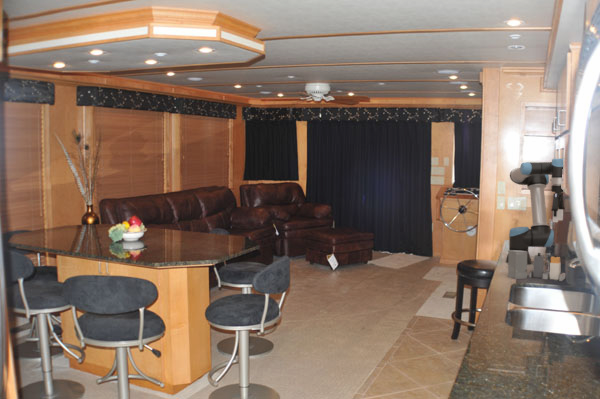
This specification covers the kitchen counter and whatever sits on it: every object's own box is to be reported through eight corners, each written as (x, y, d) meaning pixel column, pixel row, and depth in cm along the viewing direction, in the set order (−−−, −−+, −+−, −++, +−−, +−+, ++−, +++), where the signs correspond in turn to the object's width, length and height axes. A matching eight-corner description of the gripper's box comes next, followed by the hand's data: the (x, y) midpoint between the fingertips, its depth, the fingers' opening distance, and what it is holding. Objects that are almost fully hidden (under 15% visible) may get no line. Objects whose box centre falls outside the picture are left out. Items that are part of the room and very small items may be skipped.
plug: (560, 278, 296) (560, 254, 295) (558, 279, 292) (559, 255, 291) (551, 277, 299) (552, 253, 298) (549, 278, 295) (550, 254, 294)
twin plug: (535, 275, 304) (535, 252, 303) (544, 276, 301) (544, 252, 300) (533, 277, 300) (533, 253, 299) (542, 278, 297) (542, 253, 297)
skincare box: (515, 280, 295) (515, 251, 294) (506, 277, 302) (507, 249, 301) (528, 279, 297) (528, 251, 297) (519, 276, 304) (520, 249, 303)
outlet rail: (532, 275, 307) (532, 269, 306) (565, 279, 296) (565, 273, 296) (528, 278, 299) (528, 272, 299) (561, 282, 289) (561, 275, 289)
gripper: (556, 184, 323) (555, 219, 324) (546, 185, 303) (545, 222, 304) (569, 184, 318) (569, 219, 320) (561, 185, 298) (560, 223, 300)
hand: (557, 221), depth 312 cm, fingers open, 13 cm apart
